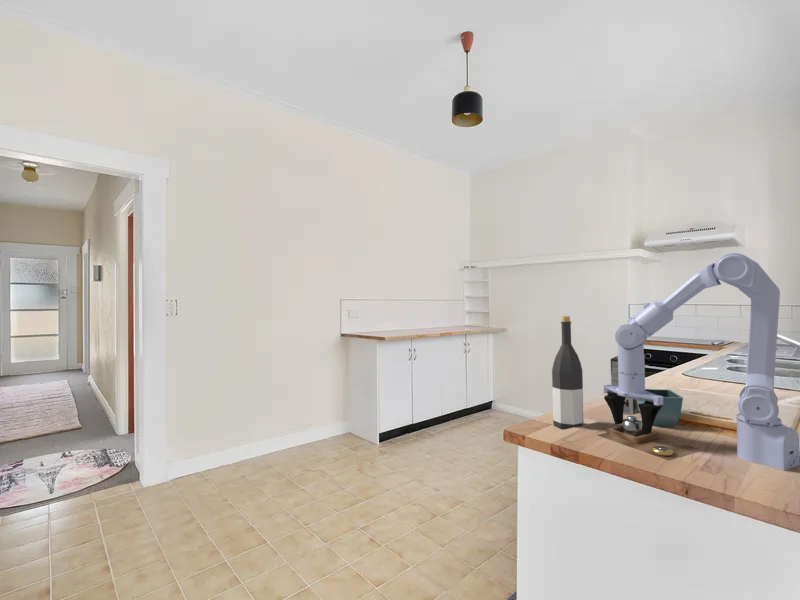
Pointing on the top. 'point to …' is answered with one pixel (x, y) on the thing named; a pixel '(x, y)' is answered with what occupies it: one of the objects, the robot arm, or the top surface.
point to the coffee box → (629, 403)
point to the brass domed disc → (662, 451)
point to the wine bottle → (567, 383)
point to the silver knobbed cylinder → (632, 426)
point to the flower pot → (667, 407)
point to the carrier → (649, 442)
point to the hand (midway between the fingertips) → (632, 427)
